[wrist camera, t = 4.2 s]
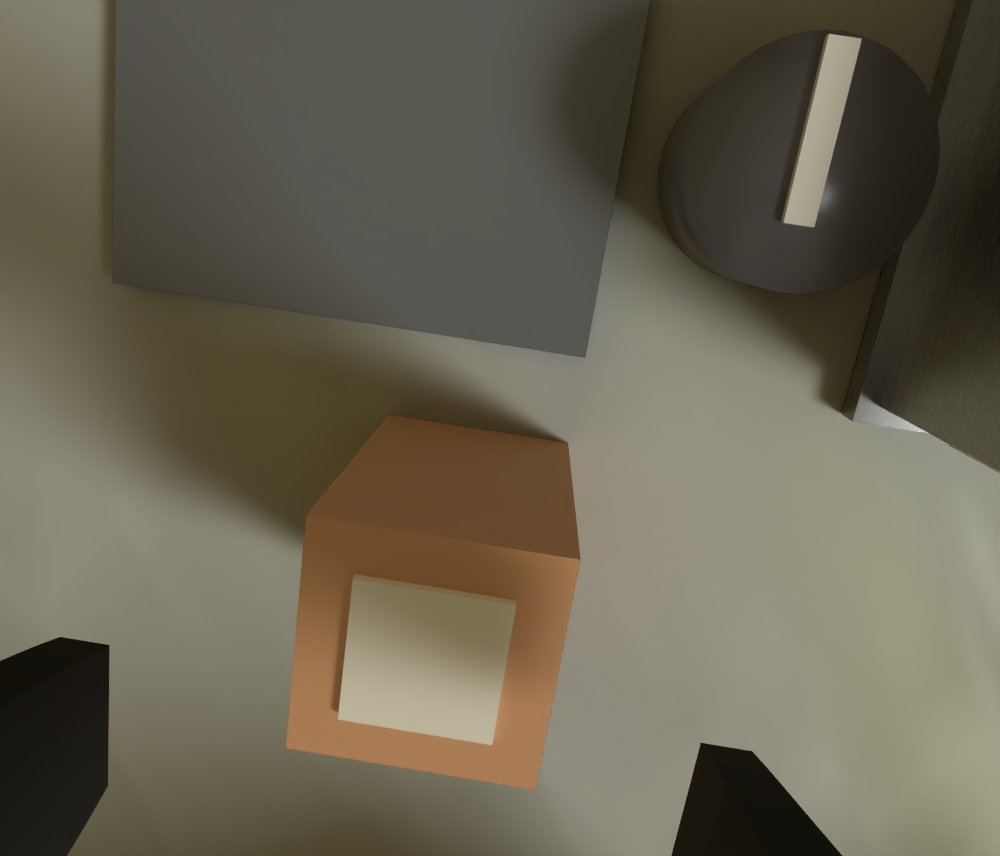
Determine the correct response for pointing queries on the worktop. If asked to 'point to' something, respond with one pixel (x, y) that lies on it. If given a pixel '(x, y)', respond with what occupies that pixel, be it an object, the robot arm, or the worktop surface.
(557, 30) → the rubber mat
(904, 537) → the worktop surface
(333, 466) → the worktop surface
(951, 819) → the worktop surface
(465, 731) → the block
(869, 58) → the black knob
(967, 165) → the junction box
